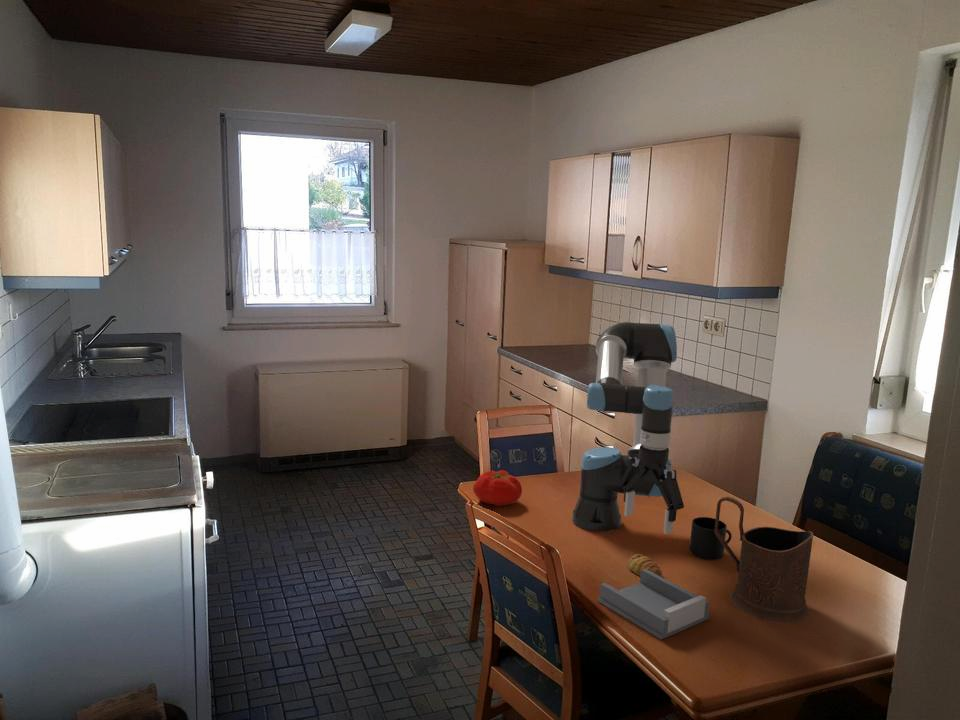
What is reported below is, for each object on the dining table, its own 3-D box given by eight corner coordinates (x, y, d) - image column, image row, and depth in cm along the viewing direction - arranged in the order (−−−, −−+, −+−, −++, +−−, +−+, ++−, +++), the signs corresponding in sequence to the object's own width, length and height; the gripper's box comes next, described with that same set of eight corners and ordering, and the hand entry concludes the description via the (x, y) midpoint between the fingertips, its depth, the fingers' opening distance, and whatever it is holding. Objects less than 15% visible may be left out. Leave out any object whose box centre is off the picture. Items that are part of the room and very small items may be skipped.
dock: (597, 601, 182) (599, 578, 180) (644, 584, 191) (646, 562, 190) (661, 639, 166) (663, 615, 165) (708, 618, 175) (711, 595, 174)
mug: (738, 559, 208) (741, 529, 207) (698, 561, 206) (701, 530, 204) (721, 545, 217) (724, 516, 216) (683, 546, 215) (686, 517, 214)
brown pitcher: (802, 632, 171) (815, 531, 167) (699, 601, 184) (708, 506, 179) (814, 600, 187) (827, 506, 182) (718, 573, 199) (727, 485, 195)
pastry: (667, 577, 196) (668, 564, 195) (649, 583, 192) (650, 570, 192) (642, 563, 204) (643, 550, 203) (624, 569, 200) (625, 555, 199)
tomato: (507, 515, 233) (509, 485, 232) (464, 503, 242) (465, 474, 240) (529, 501, 245) (530, 473, 244) (487, 490, 254) (488, 463, 252)
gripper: (609, 436, 200) (603, 510, 203) (683, 461, 180) (675, 543, 183) (628, 432, 204) (622, 505, 208) (703, 456, 184) (695, 537, 188)
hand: (647, 523), depth 195 cm, fingers open, 13 cm apart
